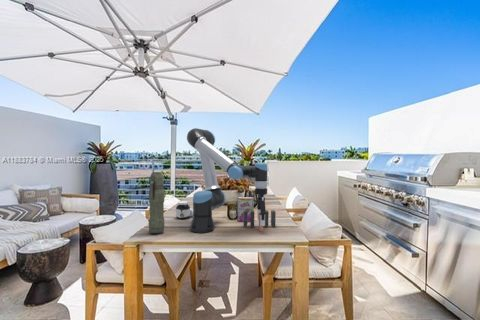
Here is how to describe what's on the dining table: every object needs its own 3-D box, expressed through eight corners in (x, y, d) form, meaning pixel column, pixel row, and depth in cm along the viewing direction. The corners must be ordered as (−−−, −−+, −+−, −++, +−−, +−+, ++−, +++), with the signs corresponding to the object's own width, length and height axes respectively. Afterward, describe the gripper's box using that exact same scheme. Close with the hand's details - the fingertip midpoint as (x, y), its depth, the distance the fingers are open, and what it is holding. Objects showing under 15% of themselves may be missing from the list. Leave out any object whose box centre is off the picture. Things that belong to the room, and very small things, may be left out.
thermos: (144, 233, 143) (144, 172, 143) (153, 228, 154) (154, 171, 154) (159, 234, 142) (159, 173, 142) (167, 228, 153) (167, 171, 153)
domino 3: (259, 231, 150) (259, 214, 150) (258, 228, 155) (258, 212, 155) (263, 231, 150) (263, 214, 150) (262, 228, 155) (262, 212, 155)
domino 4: (265, 227, 158) (265, 211, 158) (264, 225, 163) (264, 210, 163) (268, 227, 158) (268, 211, 158) (267, 225, 163) (267, 210, 163)
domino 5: (272, 227, 158) (272, 211, 158) (270, 225, 163) (271, 210, 163) (275, 227, 158) (275, 211, 158) (273, 225, 163) (274, 209, 163)
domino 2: (251, 227, 158) (251, 211, 158) (250, 225, 163) (250, 210, 163) (254, 227, 158) (254, 211, 158) (253, 225, 163) (253, 210, 163)
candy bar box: (237, 221, 172) (237, 197, 172) (237, 219, 177) (237, 196, 177) (253, 222, 171) (253, 198, 171) (253, 220, 176) (253, 197, 176)
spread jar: (174, 218, 180) (174, 202, 179) (182, 215, 190) (182, 200, 190) (188, 219, 176) (189, 203, 176) (196, 216, 187) (196, 200, 187)
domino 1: (244, 227, 157) (244, 211, 157) (243, 225, 162) (243, 210, 162) (247, 227, 157) (247, 211, 157) (246, 225, 162) (246, 210, 162)
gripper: (270, 190, 140) (270, 228, 140) (264, 185, 165) (264, 217, 165) (257, 190, 140) (257, 228, 140) (253, 185, 165) (252, 217, 165)
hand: (261, 222), depth 152 cm, fingers open, 13 cm apart
